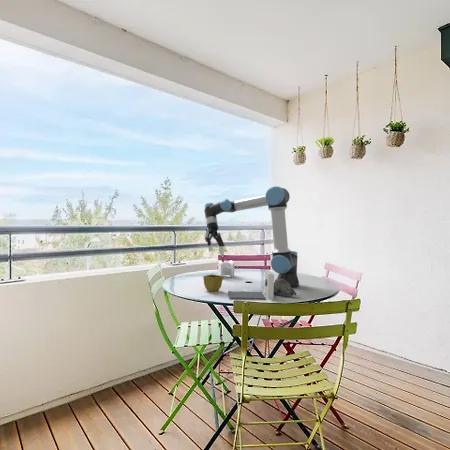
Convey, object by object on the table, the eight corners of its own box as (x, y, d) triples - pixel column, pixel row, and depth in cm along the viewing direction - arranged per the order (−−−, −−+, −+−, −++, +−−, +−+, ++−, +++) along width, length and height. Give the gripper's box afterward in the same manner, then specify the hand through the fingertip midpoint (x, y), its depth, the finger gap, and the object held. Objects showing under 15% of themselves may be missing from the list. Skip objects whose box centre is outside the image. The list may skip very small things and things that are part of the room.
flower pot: (212, 288, 208) (212, 274, 208) (223, 290, 202) (223, 276, 202) (202, 290, 201) (202, 276, 201) (213, 293, 196) (213, 278, 195)
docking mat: (261, 293, 198) (261, 291, 198) (265, 299, 184) (265, 297, 184) (228, 292, 197) (228, 291, 197) (229, 299, 183) (229, 297, 183)
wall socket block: (269, 293, 197) (270, 270, 197) (273, 299, 185) (274, 274, 185) (263, 293, 197) (264, 270, 197) (267, 299, 185) (267, 274, 185)
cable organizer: (234, 279, 238) (235, 262, 238) (219, 279, 237) (220, 262, 236) (231, 275, 253) (231, 259, 253) (217, 275, 252) (217, 259, 251)
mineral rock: (297, 297, 190) (298, 280, 190) (281, 299, 186) (282, 281, 185) (284, 292, 202) (285, 276, 201) (269, 294, 197) (270, 277, 197)
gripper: (217, 231, 239) (222, 259, 229) (196, 220, 219) (200, 250, 209) (226, 227, 235) (231, 255, 226) (206, 216, 216) (210, 246, 206)
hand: (216, 253), depth 218 cm, fingers open, 13 cm apart
